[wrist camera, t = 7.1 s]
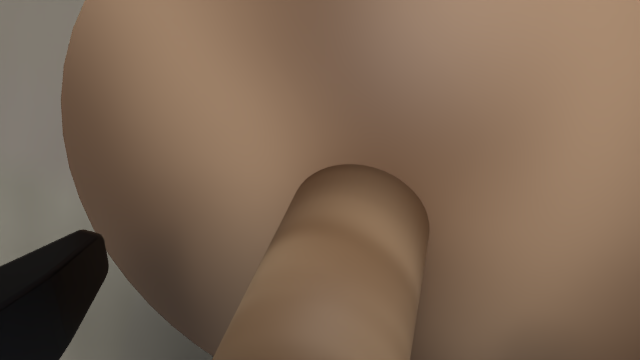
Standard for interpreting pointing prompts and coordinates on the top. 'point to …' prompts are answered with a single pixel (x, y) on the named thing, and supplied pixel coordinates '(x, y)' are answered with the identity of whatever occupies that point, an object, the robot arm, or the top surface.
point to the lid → (367, 173)
